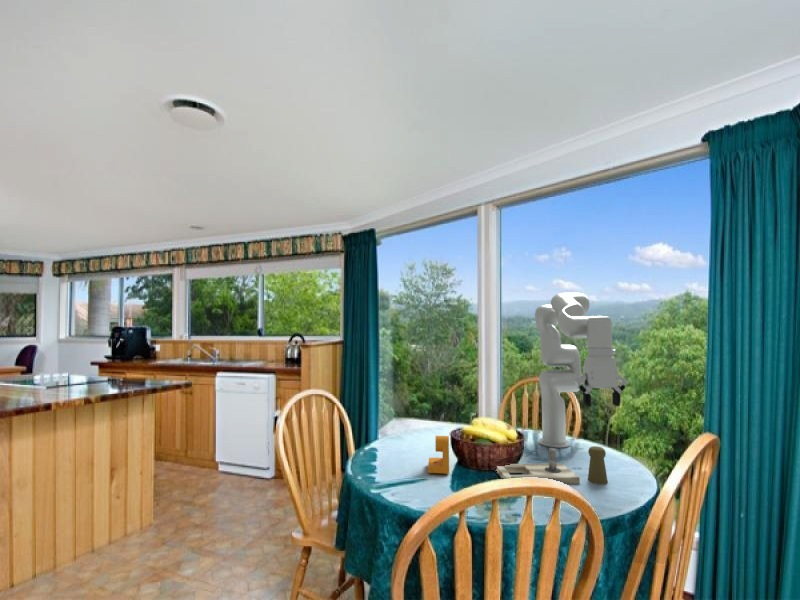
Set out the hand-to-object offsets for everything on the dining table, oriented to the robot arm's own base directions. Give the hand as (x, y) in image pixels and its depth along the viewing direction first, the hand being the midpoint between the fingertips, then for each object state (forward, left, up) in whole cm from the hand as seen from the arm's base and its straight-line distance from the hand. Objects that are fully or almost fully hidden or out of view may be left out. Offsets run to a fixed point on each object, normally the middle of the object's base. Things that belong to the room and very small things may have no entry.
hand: (602, 405), depth 141 cm
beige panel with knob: (-7, -20, -25) cm, 33 cm away
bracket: (-15, -52, -25) cm, 60 cm away
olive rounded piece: (-2, -1, -25) cm, 25 cm away
